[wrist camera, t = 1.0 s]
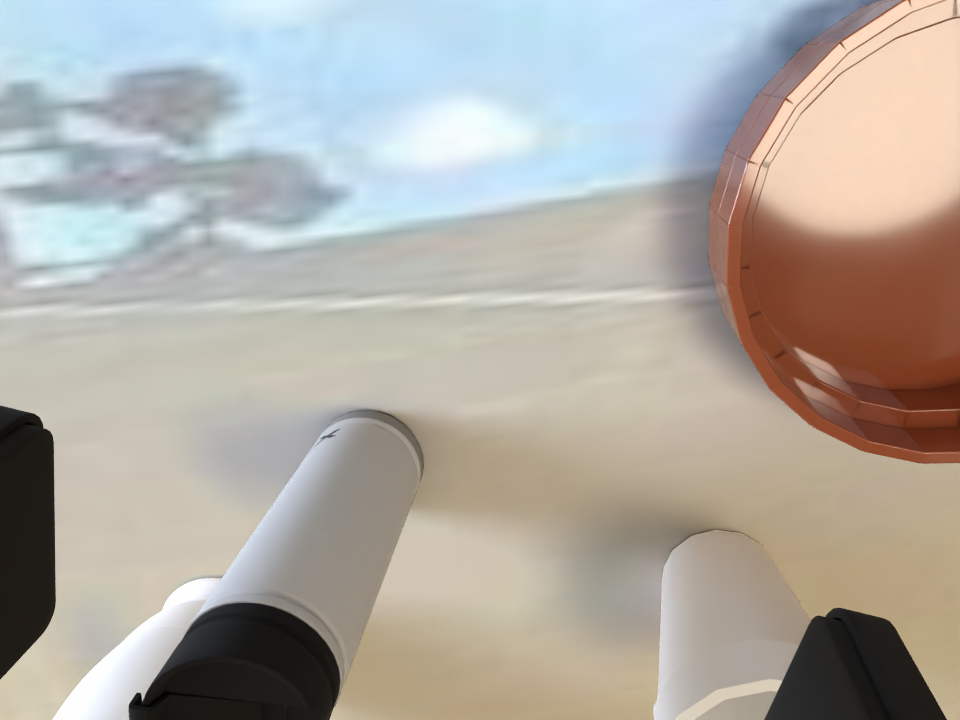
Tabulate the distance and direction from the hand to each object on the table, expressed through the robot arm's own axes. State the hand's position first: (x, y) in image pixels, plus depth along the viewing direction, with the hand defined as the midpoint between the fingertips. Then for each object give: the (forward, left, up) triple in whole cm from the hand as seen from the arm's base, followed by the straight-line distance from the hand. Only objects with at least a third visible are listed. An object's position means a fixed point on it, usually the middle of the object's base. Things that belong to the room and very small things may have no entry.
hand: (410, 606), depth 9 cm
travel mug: (+7, -16, -31) cm, 36 cm away
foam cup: (+24, -3, -31) cm, 39 cm away
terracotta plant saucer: (+11, +15, -31) cm, 36 cm away
